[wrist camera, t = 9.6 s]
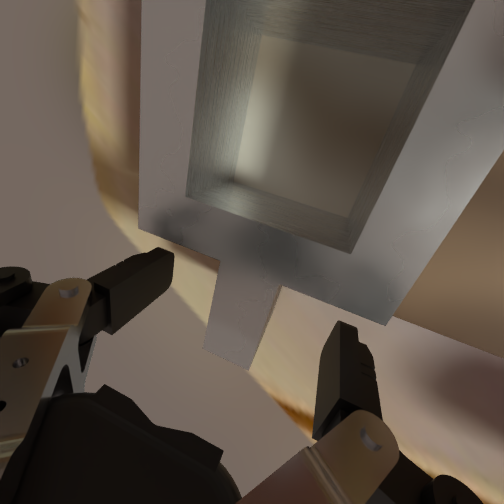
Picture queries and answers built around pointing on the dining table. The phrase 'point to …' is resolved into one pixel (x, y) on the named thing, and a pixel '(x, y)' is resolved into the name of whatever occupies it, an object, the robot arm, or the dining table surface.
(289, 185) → the board
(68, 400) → the robot arm
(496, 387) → the dining table surface
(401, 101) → the grey frame with handle
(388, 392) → the dining table surface
